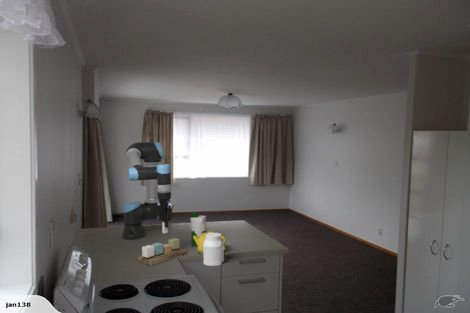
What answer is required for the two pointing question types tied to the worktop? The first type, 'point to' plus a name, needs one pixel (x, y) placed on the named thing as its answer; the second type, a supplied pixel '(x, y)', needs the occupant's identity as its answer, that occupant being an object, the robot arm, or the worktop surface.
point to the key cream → (148, 251)
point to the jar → (213, 249)
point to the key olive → (174, 243)
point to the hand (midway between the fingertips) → (165, 232)
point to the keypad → (160, 257)
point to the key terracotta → (167, 248)
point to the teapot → (201, 240)
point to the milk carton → (197, 226)
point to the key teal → (157, 248)
